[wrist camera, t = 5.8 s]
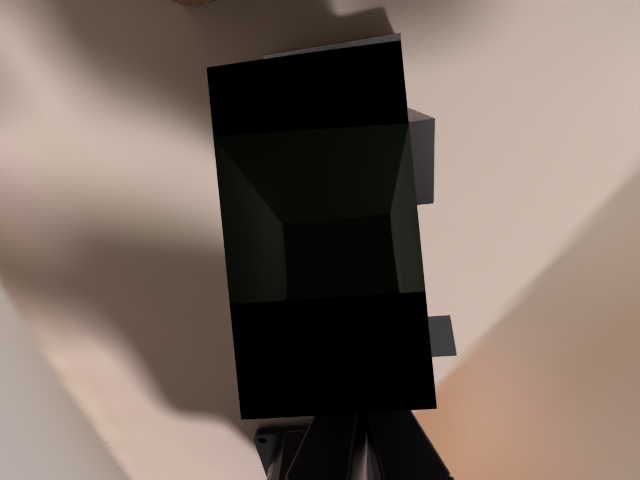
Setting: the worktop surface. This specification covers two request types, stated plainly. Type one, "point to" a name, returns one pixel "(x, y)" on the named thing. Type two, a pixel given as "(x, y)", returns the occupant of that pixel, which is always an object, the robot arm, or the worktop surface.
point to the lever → (323, 235)
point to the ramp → (189, 2)
